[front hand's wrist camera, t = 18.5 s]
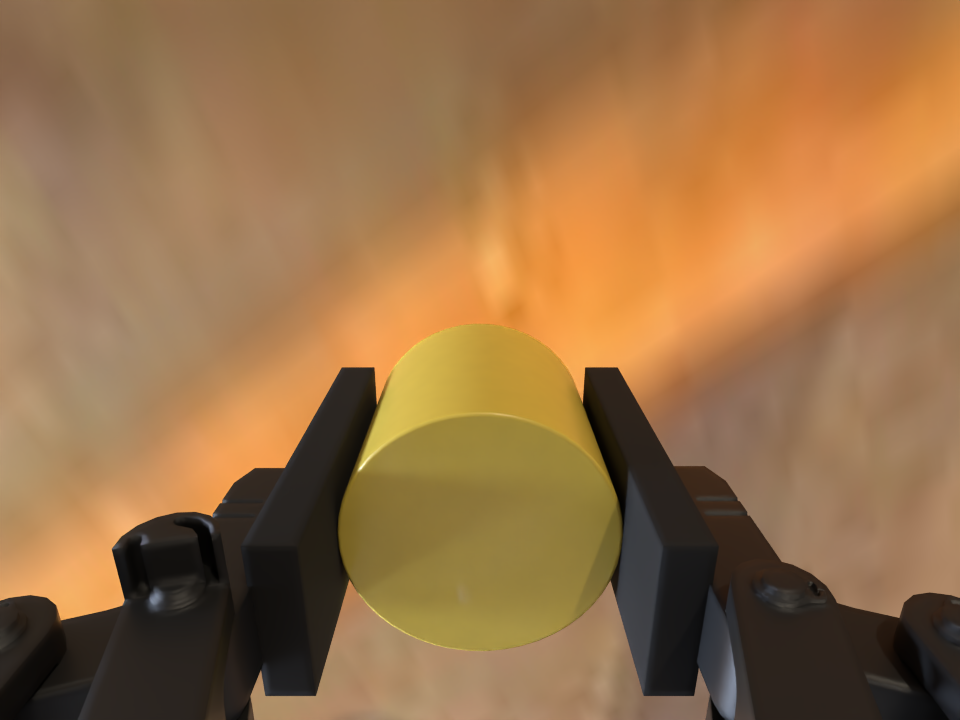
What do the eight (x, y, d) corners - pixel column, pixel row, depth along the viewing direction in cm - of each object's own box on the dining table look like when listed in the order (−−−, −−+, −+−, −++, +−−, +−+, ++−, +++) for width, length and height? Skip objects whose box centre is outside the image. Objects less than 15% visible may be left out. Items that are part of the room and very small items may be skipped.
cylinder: (470, 537, 16) (467, 693, 12) (337, 409, 15) (275, 530, 10) (621, 427, 15) (680, 554, 11) (491, 279, 14) (496, 352, 9)
